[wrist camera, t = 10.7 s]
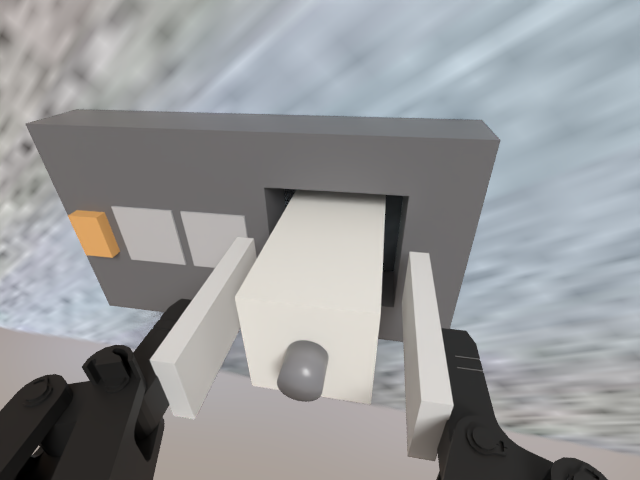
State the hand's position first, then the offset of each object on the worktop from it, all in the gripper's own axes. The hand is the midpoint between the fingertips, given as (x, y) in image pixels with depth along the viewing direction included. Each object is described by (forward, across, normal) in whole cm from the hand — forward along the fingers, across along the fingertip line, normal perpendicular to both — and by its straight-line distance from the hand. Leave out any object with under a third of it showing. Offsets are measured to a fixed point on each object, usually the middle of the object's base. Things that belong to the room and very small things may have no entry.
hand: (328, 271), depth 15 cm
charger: (+5, 0, 0) cm, 5 cm away
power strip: (+4, +4, 0) cm, 6 cm away
